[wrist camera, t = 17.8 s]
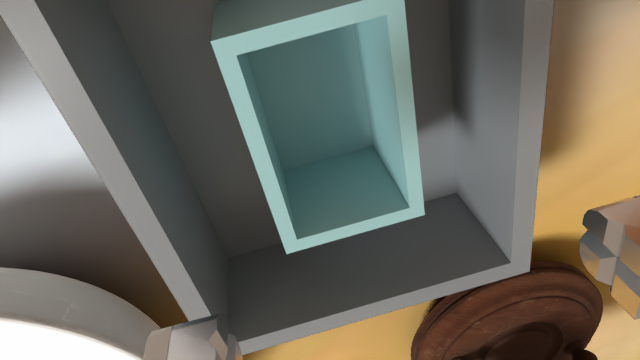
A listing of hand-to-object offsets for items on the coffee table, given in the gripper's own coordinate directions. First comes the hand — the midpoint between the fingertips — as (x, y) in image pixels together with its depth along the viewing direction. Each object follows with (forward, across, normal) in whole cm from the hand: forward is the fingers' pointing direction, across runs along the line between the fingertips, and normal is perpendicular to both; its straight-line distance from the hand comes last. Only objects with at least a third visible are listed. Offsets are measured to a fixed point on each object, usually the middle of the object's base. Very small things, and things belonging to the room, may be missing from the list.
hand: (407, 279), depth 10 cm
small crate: (+13, 0, 0) cm, 13 cm away
